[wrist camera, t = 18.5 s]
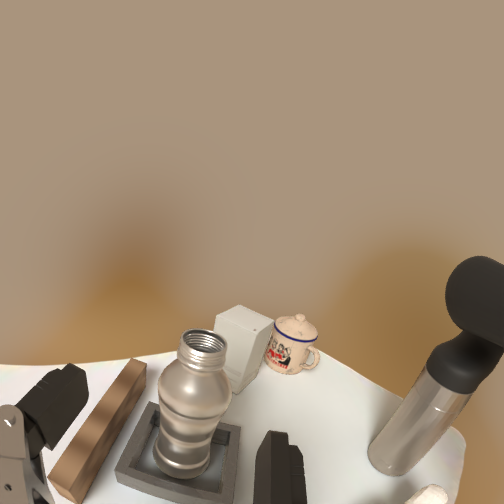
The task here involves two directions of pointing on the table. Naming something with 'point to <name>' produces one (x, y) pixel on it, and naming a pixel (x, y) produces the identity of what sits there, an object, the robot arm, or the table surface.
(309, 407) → the table surface
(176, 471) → the silver bottle
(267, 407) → the table surface
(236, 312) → the supplement box
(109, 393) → the wooden plank
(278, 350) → the teacup with lid
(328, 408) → the table surface
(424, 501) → the white piece
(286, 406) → the table surface
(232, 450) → the keeper
